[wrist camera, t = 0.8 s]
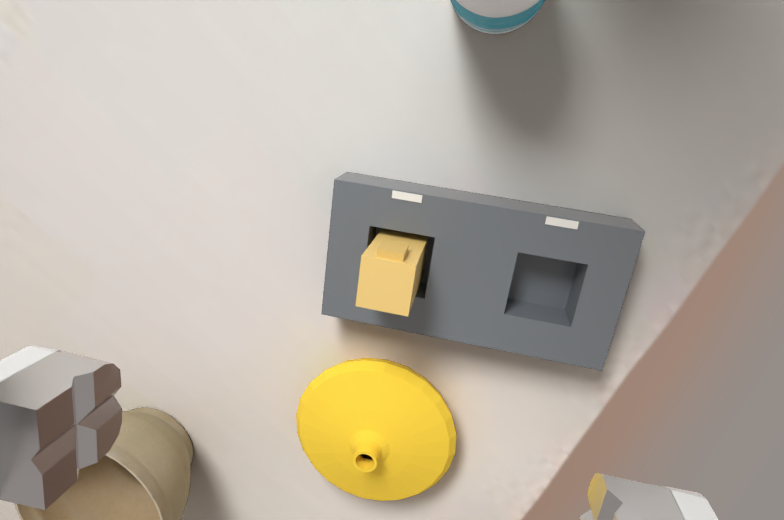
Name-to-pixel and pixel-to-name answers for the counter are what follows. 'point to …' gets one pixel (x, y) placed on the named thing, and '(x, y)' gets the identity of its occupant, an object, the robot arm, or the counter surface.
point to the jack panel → (488, 268)
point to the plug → (391, 271)
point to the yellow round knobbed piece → (376, 429)
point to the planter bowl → (130, 475)
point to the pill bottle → (496, 14)
